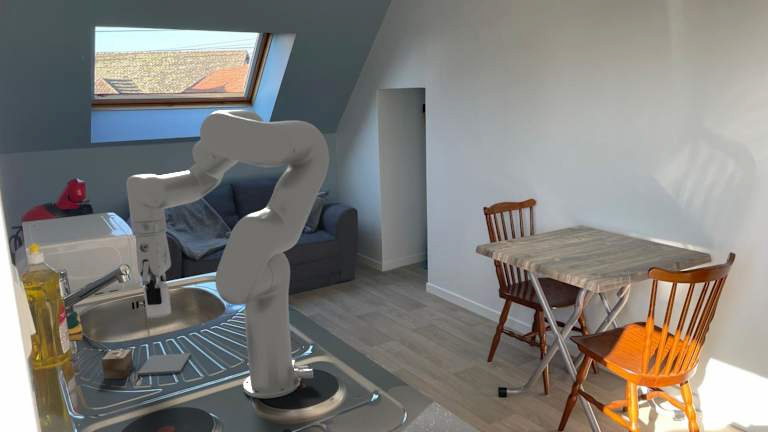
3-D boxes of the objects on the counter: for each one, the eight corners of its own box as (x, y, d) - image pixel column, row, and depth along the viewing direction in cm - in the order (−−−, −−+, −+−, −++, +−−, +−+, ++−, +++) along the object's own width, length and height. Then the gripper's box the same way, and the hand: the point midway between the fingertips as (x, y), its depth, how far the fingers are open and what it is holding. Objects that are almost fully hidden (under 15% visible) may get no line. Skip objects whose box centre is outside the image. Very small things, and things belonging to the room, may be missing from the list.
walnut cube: (133, 368, 143) (130, 348, 142) (126, 377, 138) (123, 357, 137) (112, 369, 143) (109, 349, 142) (104, 379, 138) (101, 358, 137)
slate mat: (191, 355, 149) (190, 353, 149) (180, 372, 139) (180, 370, 139) (151, 357, 148) (150, 355, 148) (137, 375, 139) (137, 373, 139)
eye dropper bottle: (166, 318, 139) (160, 269, 137) (143, 318, 140) (137, 270, 137) (174, 312, 143) (169, 264, 141) (152, 312, 144) (146, 265, 142)
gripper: (154, 233, 129) (163, 312, 133) (175, 219, 146) (182, 289, 149) (119, 235, 129) (129, 314, 132) (144, 220, 145) (152, 291, 149)
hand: (157, 300), depth 141 cm, fingers closed on eye dropper bottle, 3 cm apart
